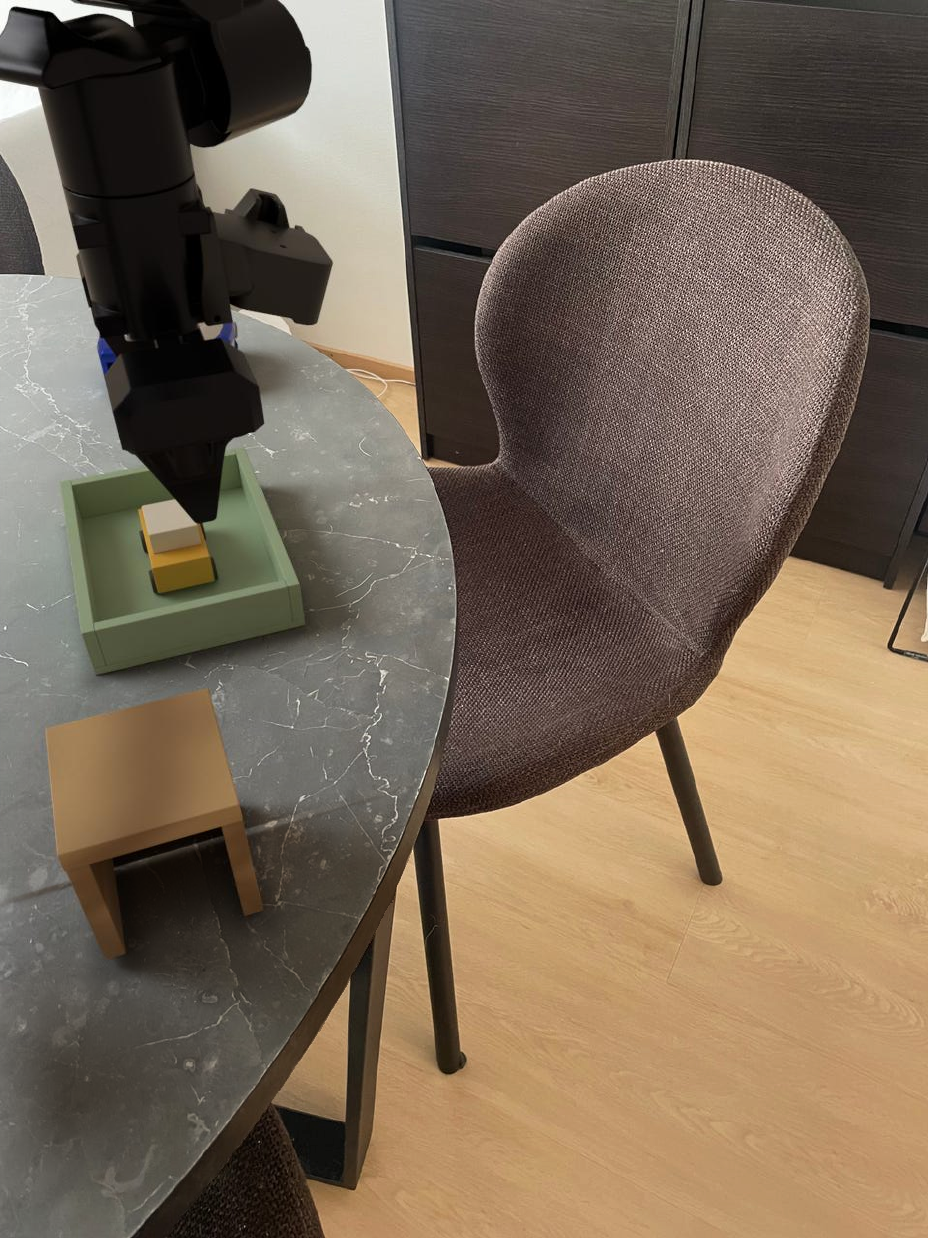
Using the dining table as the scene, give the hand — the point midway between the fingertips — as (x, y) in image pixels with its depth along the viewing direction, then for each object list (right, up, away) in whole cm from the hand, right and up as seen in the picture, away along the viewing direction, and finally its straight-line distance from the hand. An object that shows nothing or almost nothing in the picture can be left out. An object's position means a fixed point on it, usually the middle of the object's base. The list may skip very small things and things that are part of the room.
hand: (190, 473), depth 55 cm
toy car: (-12, +14, +38) cm, 42 cm away
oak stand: (0, -21, -2) cm, 22 cm away
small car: (-5, -4, +16) cm, 18 cm away
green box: (-5, -4, +17) cm, 18 cm away
